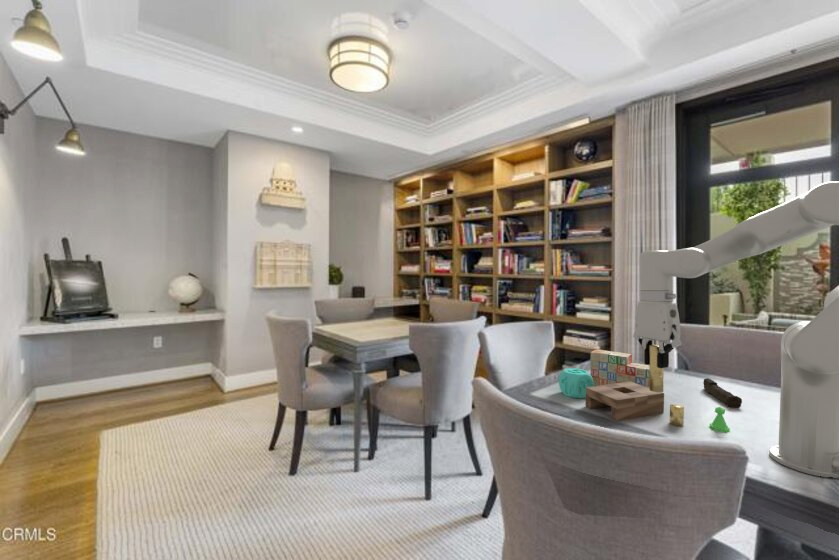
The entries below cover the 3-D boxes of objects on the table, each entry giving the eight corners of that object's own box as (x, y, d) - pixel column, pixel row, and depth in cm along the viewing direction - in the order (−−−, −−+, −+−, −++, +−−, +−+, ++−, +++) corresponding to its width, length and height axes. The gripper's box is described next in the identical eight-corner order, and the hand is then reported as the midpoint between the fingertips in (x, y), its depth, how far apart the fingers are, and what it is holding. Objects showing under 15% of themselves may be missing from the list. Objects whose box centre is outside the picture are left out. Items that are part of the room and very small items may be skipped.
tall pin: (666, 391, 102) (666, 346, 102) (657, 392, 101) (657, 347, 101) (655, 387, 105) (655, 344, 105) (646, 389, 104) (646, 345, 104)
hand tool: (742, 409, 118) (743, 394, 118) (727, 408, 119) (727, 393, 119) (713, 390, 136) (714, 377, 136) (700, 389, 137) (700, 376, 137)
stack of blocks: (660, 394, 132) (661, 358, 131) (655, 398, 127) (656, 361, 127) (596, 380, 147) (596, 348, 146) (589, 384, 143) (590, 351, 142)
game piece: (708, 428, 104) (708, 406, 104) (710, 424, 107) (711, 402, 107) (728, 433, 101) (729, 411, 100) (730, 428, 104) (731, 406, 103)
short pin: (686, 425, 106) (686, 407, 106) (677, 427, 105) (678, 409, 105) (675, 421, 109) (675, 403, 109) (666, 422, 108) (667, 405, 108)
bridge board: (663, 412, 115) (664, 393, 114) (616, 421, 109) (617, 400, 109) (629, 399, 126) (630, 381, 126) (585, 406, 120) (585, 387, 120)
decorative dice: (558, 392, 134) (558, 369, 133) (576, 389, 136) (576, 367, 136) (574, 399, 126) (575, 375, 126) (593, 396, 129) (594, 373, 129)
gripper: (697, 298, 96) (697, 371, 96) (639, 294, 111) (640, 358, 112) (675, 299, 93) (675, 375, 94) (619, 295, 109) (620, 360, 109)
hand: (656, 365), depth 103 cm, fingers closed on tall pin, 3 cm apart
